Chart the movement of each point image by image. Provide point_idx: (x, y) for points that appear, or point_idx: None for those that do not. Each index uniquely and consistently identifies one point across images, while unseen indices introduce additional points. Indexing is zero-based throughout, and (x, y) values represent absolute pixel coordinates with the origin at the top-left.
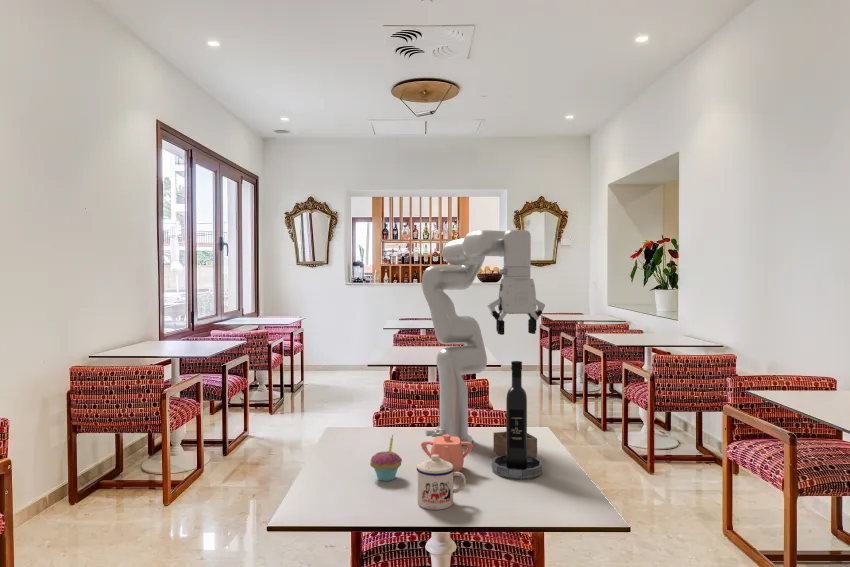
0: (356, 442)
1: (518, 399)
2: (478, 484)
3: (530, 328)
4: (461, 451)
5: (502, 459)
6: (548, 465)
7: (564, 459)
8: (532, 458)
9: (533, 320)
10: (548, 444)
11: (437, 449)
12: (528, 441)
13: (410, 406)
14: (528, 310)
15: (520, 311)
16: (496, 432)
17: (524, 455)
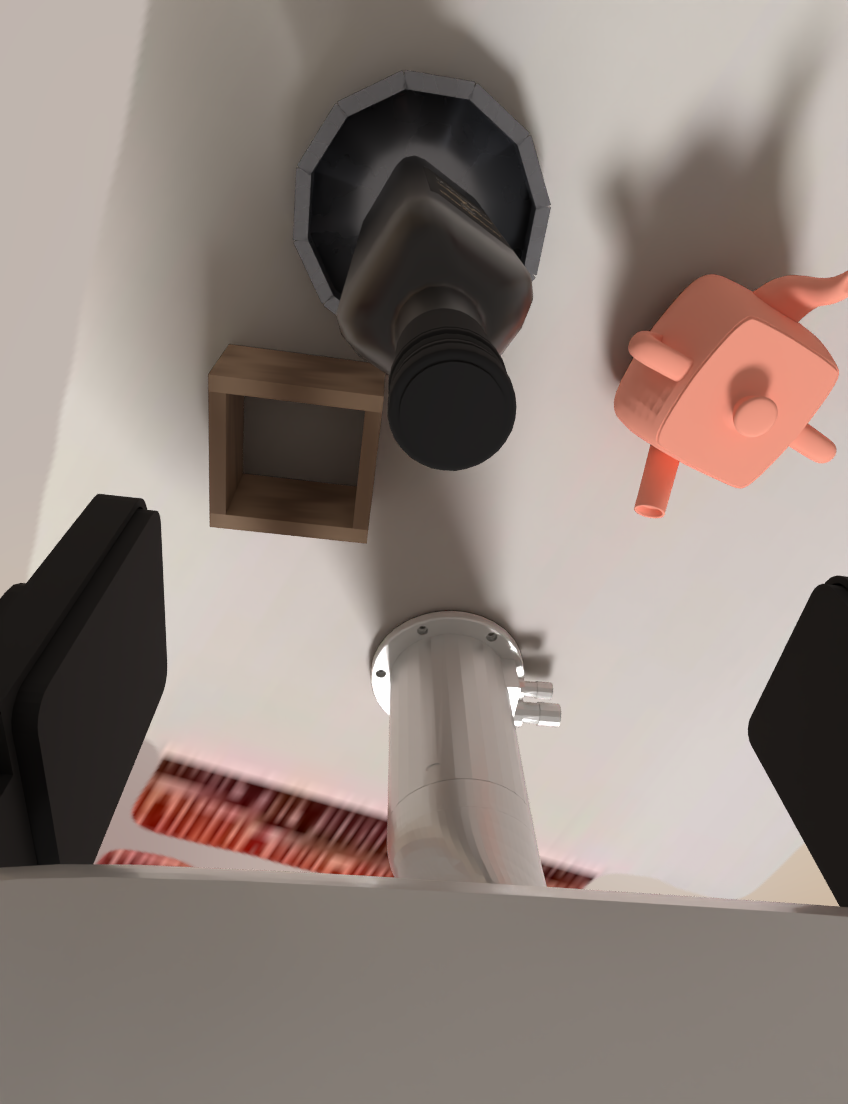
0: None
1: (471, 225)
2: (693, 125)
3: (133, 669)
4: (705, 318)
5: None
6: (230, 224)
7: (105, 271)
8: (312, 248)
9: (15, 719)
10: (76, 494)
11: (825, 352)
12: (262, 376)
13: None
14: (225, 1003)
15: (759, 967)
16: (352, 539)
17: (418, 161)
